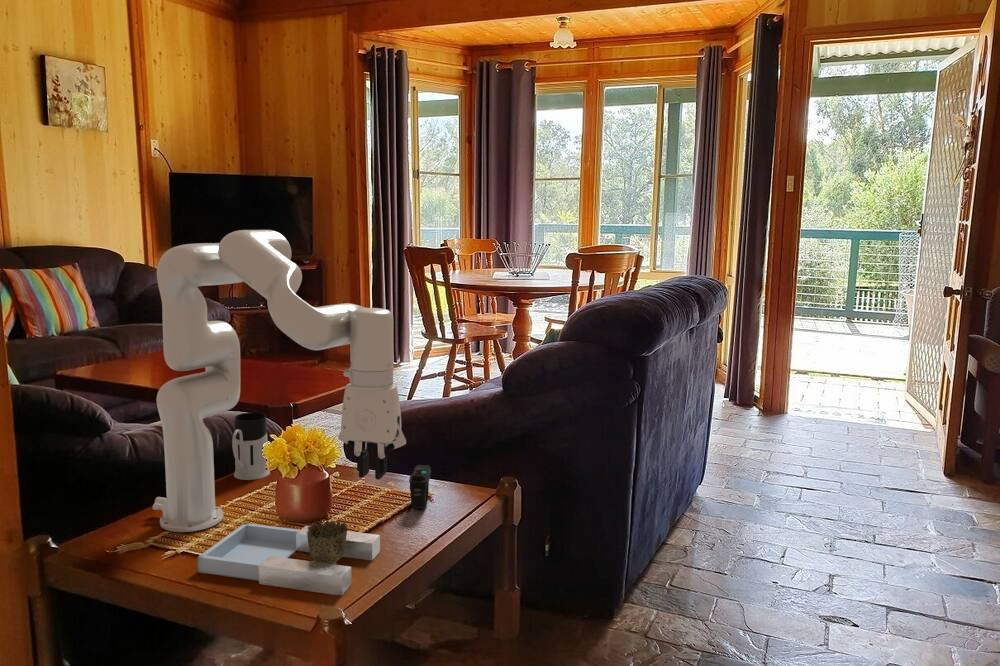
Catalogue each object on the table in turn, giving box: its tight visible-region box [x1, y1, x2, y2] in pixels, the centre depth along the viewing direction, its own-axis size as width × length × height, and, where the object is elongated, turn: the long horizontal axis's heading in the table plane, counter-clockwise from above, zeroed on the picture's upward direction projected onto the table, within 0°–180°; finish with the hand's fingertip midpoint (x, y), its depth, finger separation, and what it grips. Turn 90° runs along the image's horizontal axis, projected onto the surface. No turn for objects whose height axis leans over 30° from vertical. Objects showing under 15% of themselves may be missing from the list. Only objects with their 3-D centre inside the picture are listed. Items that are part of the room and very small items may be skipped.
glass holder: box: [231, 412, 271, 481], centre depth 187 cm, size 9×14×15 cm, turn 174°
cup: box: [307, 520, 348, 565], centre depth 142 cm, size 8×7×8 cm
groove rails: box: [258, 525, 381, 597], centre depth 142 cm, size 16×18×4 cm
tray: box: [197, 522, 301, 582], centre depth 145 cm, size 13×16×3 cm
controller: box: [408, 464, 432, 509], centre depth 173 cm, size 4×12×10 cm, turn 0°
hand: (372, 475), depth 137 cm, fingers closed
